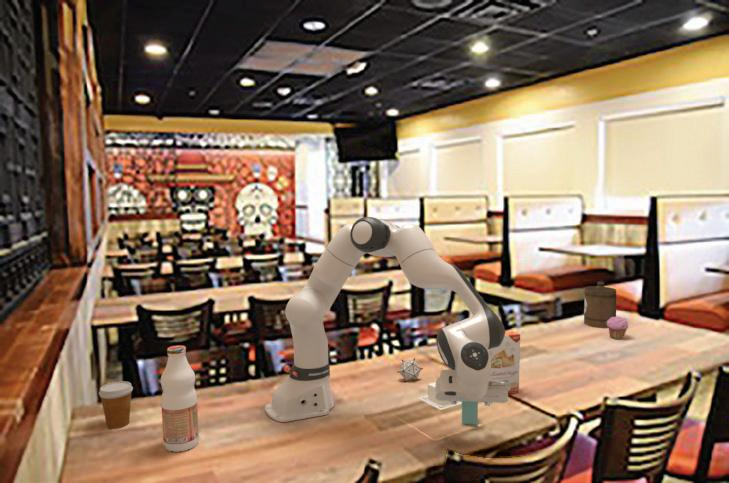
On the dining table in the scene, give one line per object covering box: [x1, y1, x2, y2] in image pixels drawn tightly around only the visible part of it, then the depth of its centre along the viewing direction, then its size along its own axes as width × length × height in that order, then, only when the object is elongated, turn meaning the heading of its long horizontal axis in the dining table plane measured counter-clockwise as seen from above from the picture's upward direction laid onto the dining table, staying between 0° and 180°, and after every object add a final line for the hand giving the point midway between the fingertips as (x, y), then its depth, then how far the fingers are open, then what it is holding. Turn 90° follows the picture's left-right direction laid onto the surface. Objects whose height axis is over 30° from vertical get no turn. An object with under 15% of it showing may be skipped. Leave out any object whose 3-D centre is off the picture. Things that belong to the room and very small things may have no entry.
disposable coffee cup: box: [98, 381, 134, 429], centre depth 167 cm, size 10×10×12 cm
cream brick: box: [427, 381, 451, 405], centre depth 180 cm, size 7×7×5 cm
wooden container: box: [583, 280, 617, 329], centre depth 274 cm, size 15×15×22 cm
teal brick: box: [461, 401, 479, 428], centre depth 163 cm, size 4×4×8 cm
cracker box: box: [488, 329, 521, 395], centre depth 187 cm, size 14×6×21 cm, turn 105°
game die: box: [397, 357, 424, 383], centre depth 200 cm, size 9×8×10 cm
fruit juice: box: [160, 345, 200, 453], centre depth 152 cm, size 9×9×28 cm
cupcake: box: [607, 316, 629, 341], centre depth 250 cm, size 9×9×10 cm
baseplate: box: [417, 394, 462, 411], centre depth 180 cm, size 12×12×1 cm
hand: (470, 402), depth 158 cm, fingers open, 8 cm apart
